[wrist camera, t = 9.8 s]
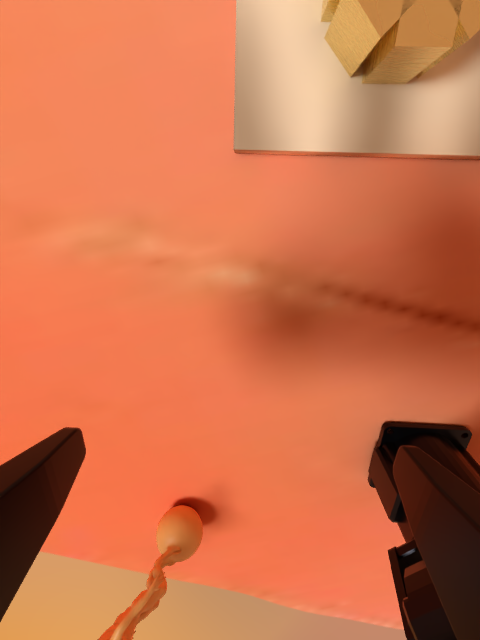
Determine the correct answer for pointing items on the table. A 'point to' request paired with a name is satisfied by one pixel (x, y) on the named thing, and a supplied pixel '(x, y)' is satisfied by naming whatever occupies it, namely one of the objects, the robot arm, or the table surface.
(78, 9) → the table surface
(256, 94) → the gear board
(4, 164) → the table surface
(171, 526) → the figurine
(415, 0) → the brass gear
